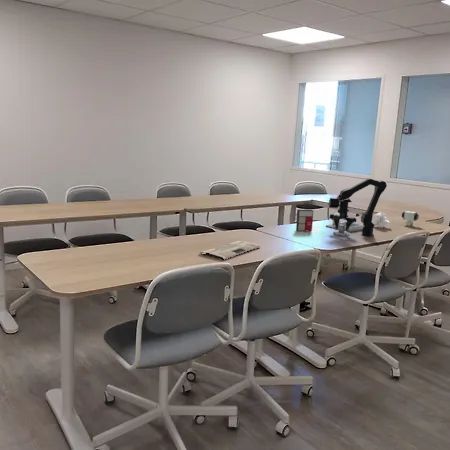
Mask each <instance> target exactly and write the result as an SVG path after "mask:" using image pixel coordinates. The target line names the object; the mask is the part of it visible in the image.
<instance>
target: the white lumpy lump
mask: <svg viewBox="0 0 450 450" xmlns="http://www.w3.org/2000/svg"><path fill="white" fill-rule="evenodd" d="M372 223H373V224H374V225H375V226H377V228H380V229H382V227H383V229H386V227H387V226H388V224H389V225H390V221H389V220H388V217H386V214H385V213H384V212H381V211H379V212H377V213H376V214H373V218H372Z"/></svg>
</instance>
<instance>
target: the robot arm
mask: <svg viewBox="0 0 450 450" xmlns="http://www.w3.org/2000/svg"><path fill="white" fill-rule="evenodd" d="M368 186H373V187H374V192H373V194H372V197H371V200H370V201H369V204H368V207H367V209H366V211H365V212H362V213H361V216H360V222H361V224H362V225H364V226H363V229H362V230H361V231H362V232H361V234H360V235H361V236H365V237H373V236H374V235H375V234H374V228H375V227H376V225H374V224H373V218H374V211H375V208H376V207H377V204H378V201H380V198H381V197H380V196H381V195H382V194H383V193H384V192H385V190H386V188H387V186H388V185H387V182H386V181H384V180H381V179H379V180H375V179H373V178H370V177H369V178H366V179H365V180H362V181H361V182H359V183H357V184H355V185H353V186H351V187H348V188H345V189H342V190H341V191H340V192H339V194H338V195H337V196H336V198H335V197H329V200H328V204H327V206H328V208H329V209H337V208H339V209H338V210H337V212H335V213H331V214H329V219H331V220H332V222H333V221H334V223H335V226H336V229H335V230H338V226H339V221H340V220H344V221H345V222H346V232H347V230H348V229H349V227H350V225H351V224H352V223H356V222H357V218H356V217H354V216H351V217H349V215H348V212H349V211H350V210H349V203H352V200H351V199H350V197H352V196H353V195H354V194H355V193H357V192H359V191H360V190H362V189H365V188H367V187H368Z"/></svg>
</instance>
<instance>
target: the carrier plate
mask: <svg viewBox="0 0 450 450" xmlns="http://www.w3.org/2000/svg"><path fill="white" fill-rule="evenodd" d="M346 222H347V221H343V222H342V221H340V220H339V225H345V231H346ZM363 226H364V225H363V224H360V223H356V222H354V223H352V224H351V225H350V227H349V229H348V230H347V231H346V232H349V233H355V232H359V231H362V229H363ZM325 227H326V228H330V229H334V230H337V231H339V226H338V229H336V226H335V223H334V221H333V220H332V224H326V225H325ZM354 231H355V232H354Z"/></svg>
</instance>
